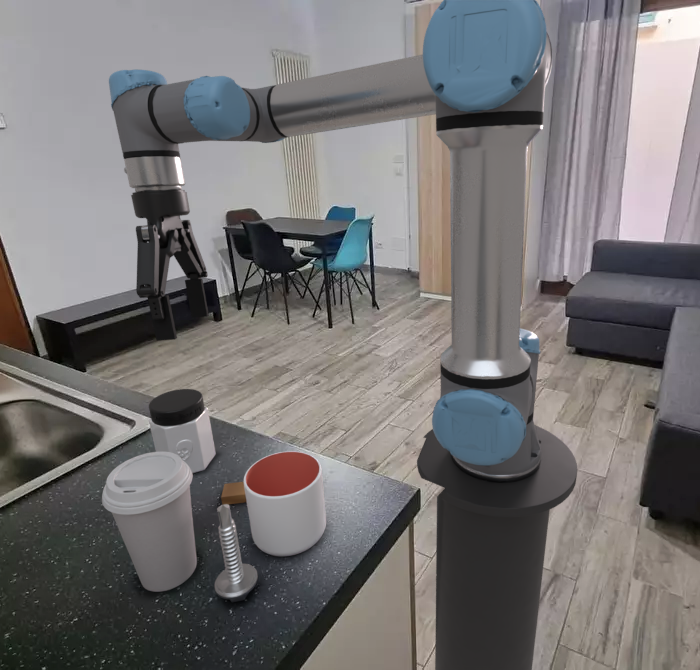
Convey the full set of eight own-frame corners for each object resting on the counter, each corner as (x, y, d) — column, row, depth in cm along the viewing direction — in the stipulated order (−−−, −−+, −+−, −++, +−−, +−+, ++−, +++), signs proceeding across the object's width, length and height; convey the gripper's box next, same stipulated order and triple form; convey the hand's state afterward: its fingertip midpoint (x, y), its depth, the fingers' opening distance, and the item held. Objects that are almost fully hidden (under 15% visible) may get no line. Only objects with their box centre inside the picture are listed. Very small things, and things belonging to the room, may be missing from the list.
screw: (267, 581, 59) (245, 615, 55) (232, 572, 61) (208, 605, 56) (254, 494, 55) (228, 523, 50) (217, 487, 56) (189, 515, 52)
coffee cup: (108, 588, 59) (77, 487, 53) (169, 534, 67) (148, 441, 62) (168, 613, 55) (141, 507, 50) (225, 553, 64) (207, 456, 58)
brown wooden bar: (312, 481, 77) (312, 473, 77) (312, 494, 74) (312, 485, 74) (225, 491, 75) (224, 483, 75) (222, 505, 72) (220, 497, 72)
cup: (292, 499, 73) (285, 442, 70) (341, 526, 68) (337, 466, 64) (237, 540, 66) (226, 479, 62) (288, 574, 60) (279, 509, 57)
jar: (160, 483, 78) (145, 417, 73) (159, 456, 85) (145, 395, 80) (219, 467, 81) (207, 404, 77) (213, 443, 88) (202, 384, 84)
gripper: (168, 190, 84) (191, 310, 90) (83, 191, 60) (121, 353, 66) (212, 188, 84) (231, 307, 90) (144, 187, 60) (176, 349, 66)
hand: (185, 327), depth 78 cm, fingers open, 13 cm apart
